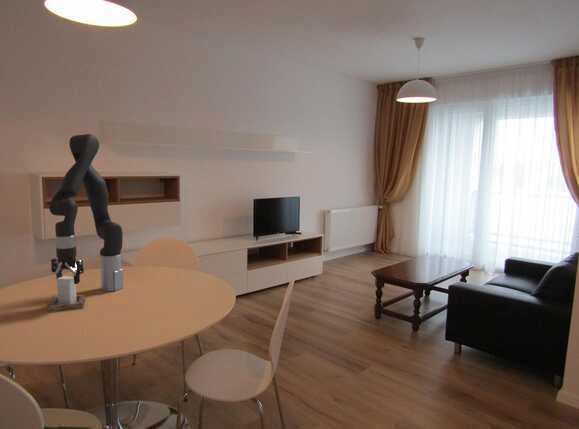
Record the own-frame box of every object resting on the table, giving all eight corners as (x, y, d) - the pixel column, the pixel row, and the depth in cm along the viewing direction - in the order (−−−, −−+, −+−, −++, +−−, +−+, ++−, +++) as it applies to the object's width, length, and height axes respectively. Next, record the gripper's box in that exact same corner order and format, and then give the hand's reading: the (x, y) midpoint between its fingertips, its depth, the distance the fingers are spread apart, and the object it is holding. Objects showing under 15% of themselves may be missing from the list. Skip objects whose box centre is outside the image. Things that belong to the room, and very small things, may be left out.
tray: (85, 299, 185) (85, 294, 185) (83, 308, 173) (83, 303, 173) (52, 302, 180) (52, 297, 179) (48, 312, 168) (48, 306, 168)
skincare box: (77, 303, 178) (76, 276, 177) (70, 306, 174) (69, 279, 172) (64, 302, 179) (63, 275, 177) (57, 305, 175) (56, 278, 173)
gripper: (86, 245, 175) (88, 281, 177) (58, 243, 178) (61, 278, 180) (73, 248, 168) (75, 286, 170) (44, 246, 171) (47, 283, 173)
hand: (68, 282), depth 175 cm, fingers open, 8 cm apart
